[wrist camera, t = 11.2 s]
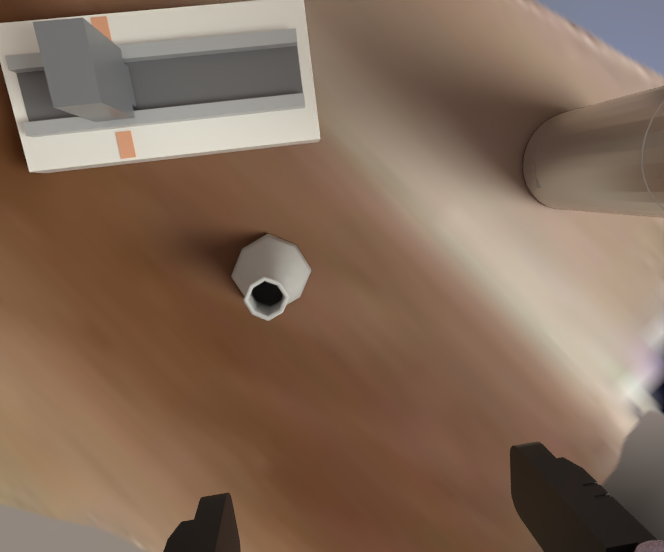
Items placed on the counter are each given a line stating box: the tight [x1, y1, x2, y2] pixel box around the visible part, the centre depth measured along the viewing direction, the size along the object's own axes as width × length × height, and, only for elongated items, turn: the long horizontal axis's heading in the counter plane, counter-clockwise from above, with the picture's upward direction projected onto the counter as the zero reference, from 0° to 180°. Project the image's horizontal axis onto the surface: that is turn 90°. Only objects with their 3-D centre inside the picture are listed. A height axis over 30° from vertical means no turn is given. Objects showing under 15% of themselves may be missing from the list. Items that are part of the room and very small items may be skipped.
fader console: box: [0, 0, 320, 173], centre depth 35 cm, size 24×11×4 cm, turn 97°
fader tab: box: [33, 17, 137, 122], centre depth 30 cm, size 3×5×7 cm, turn 7°
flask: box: [231, 234, 311, 321], centre depth 36 cm, size 7×7×10 cm
